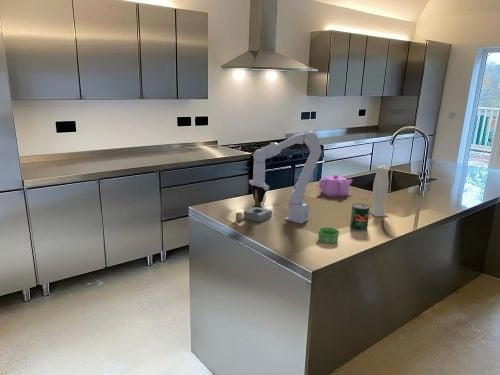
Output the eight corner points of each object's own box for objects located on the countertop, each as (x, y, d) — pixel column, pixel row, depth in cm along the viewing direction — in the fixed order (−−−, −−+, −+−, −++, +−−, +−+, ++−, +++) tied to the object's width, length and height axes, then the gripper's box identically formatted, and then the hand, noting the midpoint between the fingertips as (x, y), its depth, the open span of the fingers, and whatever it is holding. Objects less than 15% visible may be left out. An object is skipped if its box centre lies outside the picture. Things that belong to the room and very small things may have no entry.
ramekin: (318, 235, 166) (319, 226, 165) (339, 237, 163) (340, 228, 162) (316, 242, 158) (316, 233, 156) (337, 245, 155) (338, 236, 154)
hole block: (271, 217, 187) (271, 210, 186) (260, 222, 180) (260, 215, 179) (255, 212, 193) (255, 206, 192) (243, 217, 185) (243, 211, 184)
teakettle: (316, 194, 230) (318, 175, 226) (325, 189, 244) (327, 170, 241) (343, 199, 221) (345, 179, 218) (351, 193, 236) (353, 174, 232)
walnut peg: (258, 206, 182) (259, 190, 180) (253, 205, 184) (253, 189, 182) (262, 204, 185) (262, 189, 183) (256, 203, 187) (257, 188, 185)
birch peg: (243, 220, 181) (243, 213, 180) (239, 222, 179) (239, 214, 178) (238, 219, 183) (238, 211, 182) (234, 221, 180) (234, 213, 179)
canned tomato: (357, 232, 171) (359, 209, 168) (346, 226, 177) (348, 204, 175) (370, 229, 174) (373, 207, 171) (359, 224, 181) (362, 202, 178)
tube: (256, 192, 217) (250, 205, 192) (265, 190, 215) (260, 202, 191) (259, 201, 218) (253, 214, 194) (267, 199, 217) (263, 212, 192)
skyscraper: (389, 217, 191) (396, 164, 184) (374, 218, 190) (380, 164, 183) (381, 212, 199) (387, 161, 192) (366, 212, 198) (372, 161, 191)
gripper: (244, 172, 184) (243, 198, 188) (260, 178, 173) (260, 206, 176) (255, 170, 188) (255, 196, 192) (273, 176, 176) (271, 203, 180)
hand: (258, 200), depth 184 cm, fingers closed on walnut peg, 3 cm apart
